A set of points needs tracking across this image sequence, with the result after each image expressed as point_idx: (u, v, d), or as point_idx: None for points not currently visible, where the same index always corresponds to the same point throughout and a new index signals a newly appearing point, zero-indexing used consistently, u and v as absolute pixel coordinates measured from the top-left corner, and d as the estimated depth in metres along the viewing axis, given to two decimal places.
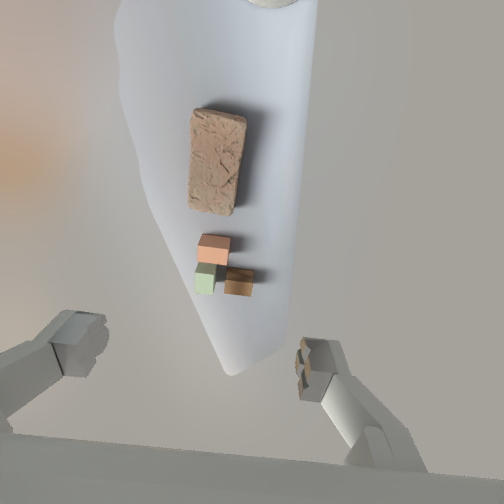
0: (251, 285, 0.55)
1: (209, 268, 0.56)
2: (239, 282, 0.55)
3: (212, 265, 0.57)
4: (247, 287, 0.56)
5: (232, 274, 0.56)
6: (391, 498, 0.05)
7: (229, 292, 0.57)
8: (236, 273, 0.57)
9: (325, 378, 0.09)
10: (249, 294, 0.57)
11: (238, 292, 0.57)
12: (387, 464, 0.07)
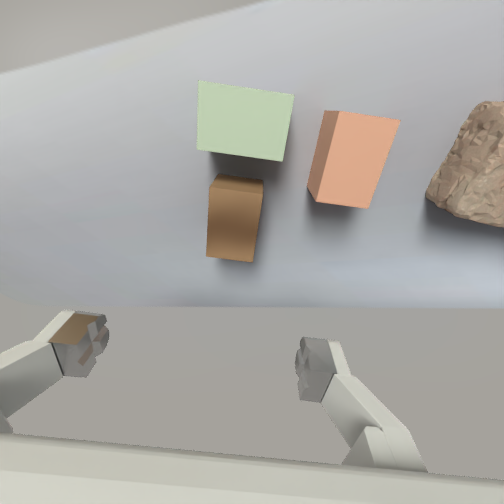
0: (245, 258, 0.22)
1: None
2: (253, 231, 0.21)
3: None
4: (236, 249, 0.21)
5: None
6: (391, 498, 0.05)
7: (215, 204, 0.20)
8: None
9: (325, 378, 0.09)
10: (213, 253, 0.22)
11: (217, 228, 0.21)
12: (387, 464, 0.07)
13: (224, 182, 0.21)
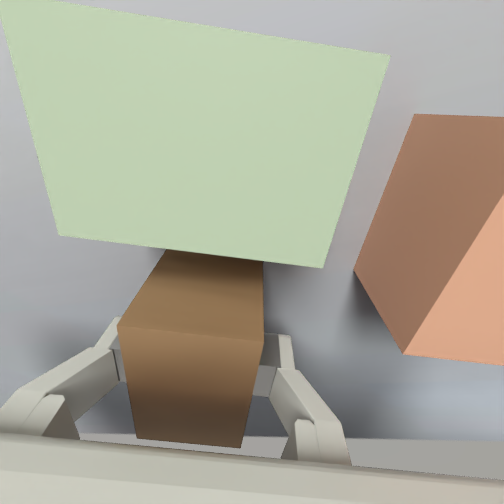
0: (224, 443, 0.10)
1: None
2: (240, 404, 0.09)
3: None
4: (203, 430, 0.09)
5: None
6: (391, 498, 0.05)
7: (140, 358, 0.07)
8: None
9: (269, 372, 0.09)
10: (151, 435, 0.10)
11: (153, 398, 0.08)
12: (311, 457, 0.07)
13: (170, 287, 0.08)
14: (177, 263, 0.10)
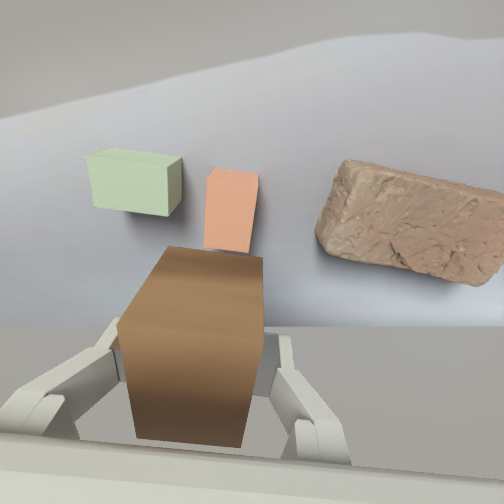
0: (224, 443, 0.10)
1: (174, 193, 0.22)
2: (240, 404, 0.08)
3: (178, 195, 0.23)
4: (203, 430, 0.09)
5: None
6: (391, 498, 0.05)
7: (140, 358, 0.07)
8: None
9: (269, 372, 0.09)
10: (151, 435, 0.10)
11: (153, 398, 0.08)
12: (311, 456, 0.07)
13: (169, 287, 0.08)
14: (177, 263, 0.10)
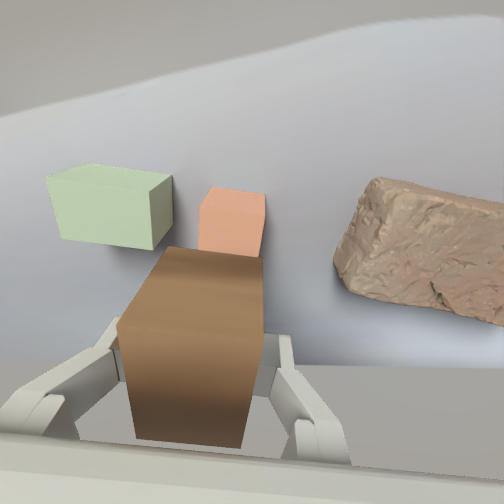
0: (224, 443, 0.10)
1: (162, 219, 0.18)
2: (240, 404, 0.08)
3: (167, 221, 0.19)
4: (203, 430, 0.09)
5: None
6: (391, 498, 0.05)
7: (140, 358, 0.07)
8: None
9: (269, 372, 0.09)
10: (151, 435, 0.10)
11: (152, 399, 0.08)
12: (311, 457, 0.07)
13: (169, 287, 0.08)
14: (177, 263, 0.10)
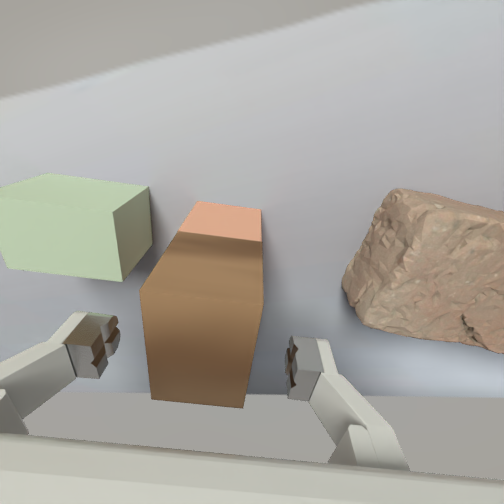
0: (228, 403, 0.11)
1: (135, 242, 0.15)
2: (243, 364, 0.10)
3: (143, 242, 0.16)
4: (210, 390, 0.11)
5: None
6: (391, 498, 0.05)
7: (158, 321, 0.09)
8: None
9: (312, 377, 0.09)
10: (164, 396, 0.11)
11: (167, 359, 0.10)
12: (369, 462, 0.07)
13: (182, 263, 0.10)
14: (187, 244, 0.11)
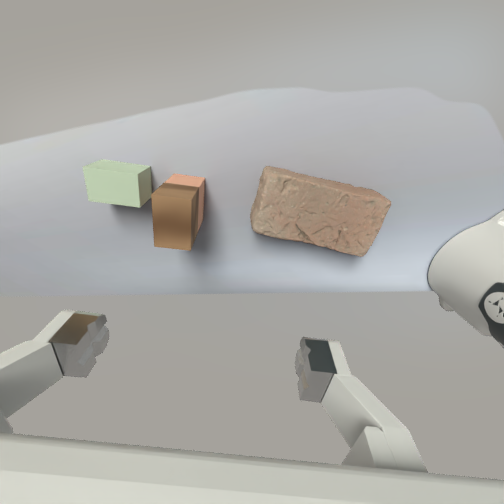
0: (184, 247, 0.29)
1: (145, 191, 0.32)
2: (187, 226, 0.27)
3: (148, 193, 0.33)
4: (177, 240, 0.28)
5: (194, 206, 0.28)
6: (391, 498, 0.05)
7: (157, 207, 0.26)
8: (195, 210, 0.29)
9: (325, 378, 0.09)
10: (159, 244, 0.28)
11: (160, 224, 0.27)
12: (387, 464, 0.07)
13: (165, 190, 0.27)
14: (167, 186, 0.28)
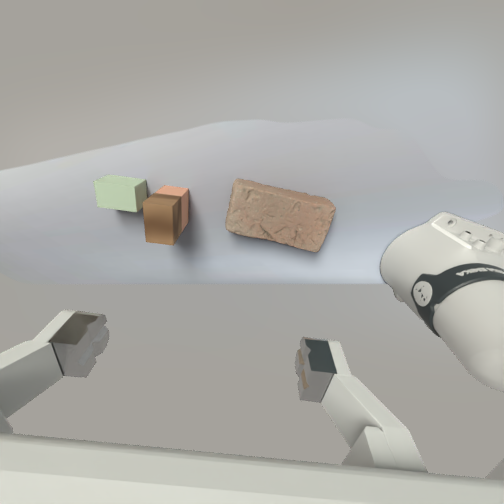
0: (168, 243, 0.37)
1: (141, 199, 0.41)
2: (170, 226, 0.36)
3: (144, 200, 0.42)
4: (163, 237, 0.37)
5: (176, 211, 0.37)
6: (391, 498, 0.05)
7: (147, 211, 0.35)
8: (177, 214, 0.38)
9: (325, 378, 0.09)
10: (149, 240, 0.37)
11: (150, 225, 0.36)
12: (387, 464, 0.07)
13: (153, 199, 0.36)
14: (156, 195, 0.37)
